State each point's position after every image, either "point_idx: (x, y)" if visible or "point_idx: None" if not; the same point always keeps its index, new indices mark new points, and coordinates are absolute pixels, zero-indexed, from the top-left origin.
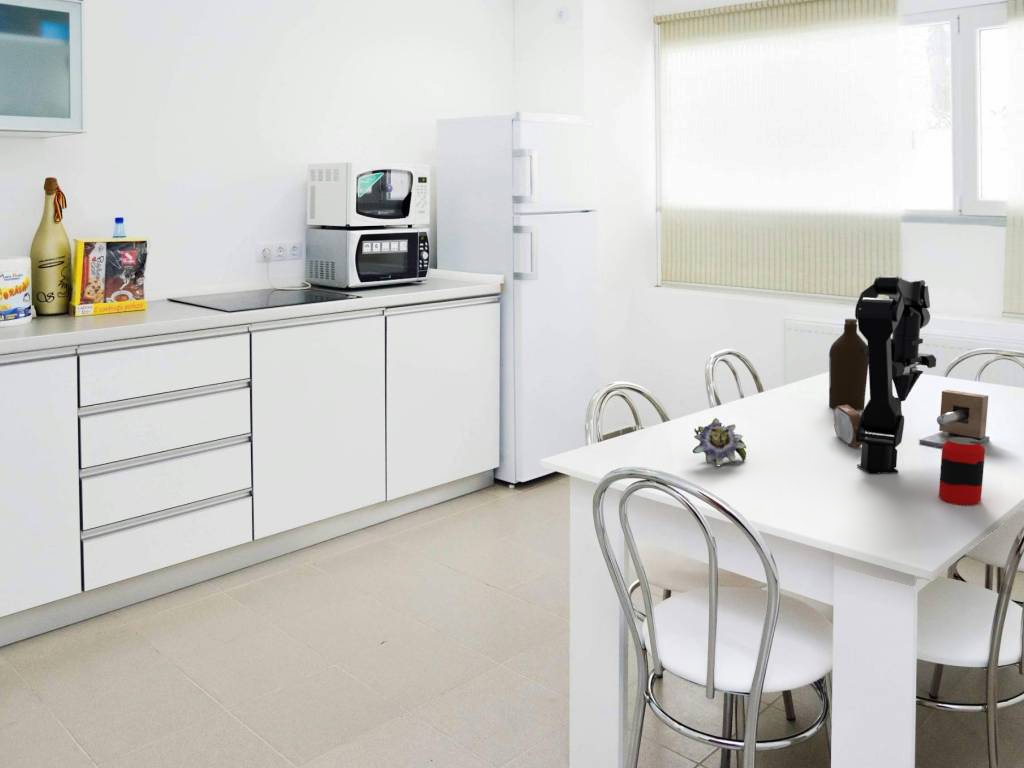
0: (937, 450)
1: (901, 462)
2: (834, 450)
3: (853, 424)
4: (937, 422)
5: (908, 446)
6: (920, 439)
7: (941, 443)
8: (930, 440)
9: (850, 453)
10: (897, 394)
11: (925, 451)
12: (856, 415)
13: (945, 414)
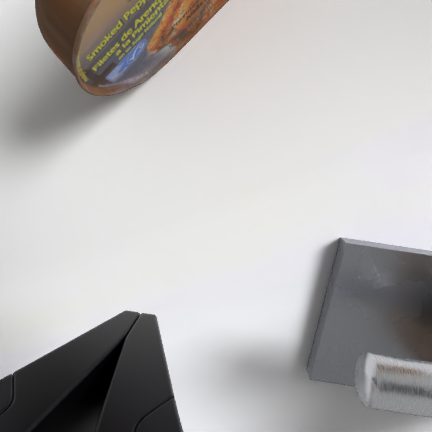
0: (279, 313)
1: (56, 273)
2: (28, 10)
3: (40, 28)
4: (367, 352)
5: (275, 221)
6: (348, 245)
7: (329, 320)
8: (352, 278)
9: (34, 87)
10: (85, 335)
11: (242, 288)
12: (73, 1)
13: (416, 404)
